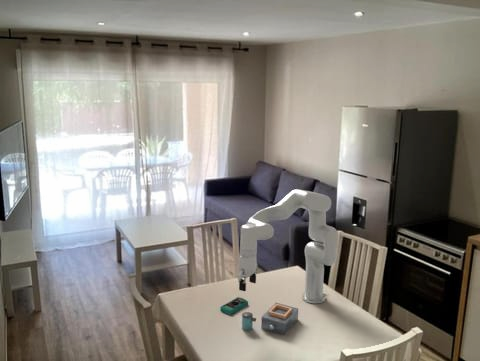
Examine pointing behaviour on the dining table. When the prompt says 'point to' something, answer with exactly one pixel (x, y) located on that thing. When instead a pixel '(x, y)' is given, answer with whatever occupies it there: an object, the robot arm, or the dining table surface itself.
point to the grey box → (279, 318)
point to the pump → (247, 321)
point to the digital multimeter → (234, 305)
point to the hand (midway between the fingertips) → (247, 286)
